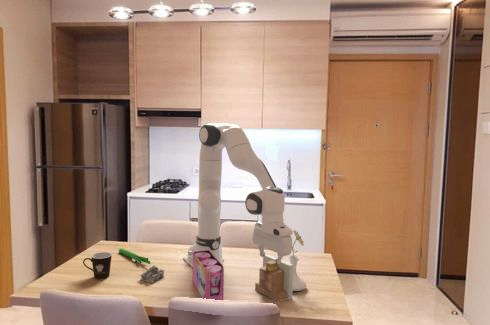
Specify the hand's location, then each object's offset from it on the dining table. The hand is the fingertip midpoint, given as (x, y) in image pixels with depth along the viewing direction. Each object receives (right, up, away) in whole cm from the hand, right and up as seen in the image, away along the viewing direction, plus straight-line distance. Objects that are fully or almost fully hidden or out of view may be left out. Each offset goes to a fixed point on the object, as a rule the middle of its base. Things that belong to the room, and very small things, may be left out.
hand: (270, 259), depth 153 cm
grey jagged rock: (-52, -13, +16) cm, 56 cm away
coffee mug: (-77, -12, +17) cm, 79 cm away
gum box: (-26, -15, +5) cm, 30 cm away
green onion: (-67, -11, +39) cm, 78 cm away
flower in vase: (+11, -15, +10) cm, 21 cm away
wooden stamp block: (0, -12, +1) cm, 12 cm away
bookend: (+1, -15, +4) cm, 15 cm away
